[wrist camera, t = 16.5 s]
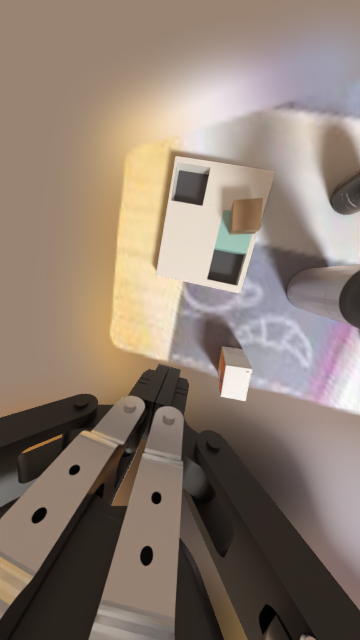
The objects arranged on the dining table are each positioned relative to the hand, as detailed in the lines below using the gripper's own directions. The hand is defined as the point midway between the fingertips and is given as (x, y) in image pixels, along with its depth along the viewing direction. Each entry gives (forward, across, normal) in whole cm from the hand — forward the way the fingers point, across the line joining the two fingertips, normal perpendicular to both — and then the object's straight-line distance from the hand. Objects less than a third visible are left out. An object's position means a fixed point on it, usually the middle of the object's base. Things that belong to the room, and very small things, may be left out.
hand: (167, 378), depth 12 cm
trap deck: (+35, +1, -17) cm, 39 cm away
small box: (+35, -12, +13) cm, 39 cm away
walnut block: (+32, -5, -20) cm, 38 cm away
